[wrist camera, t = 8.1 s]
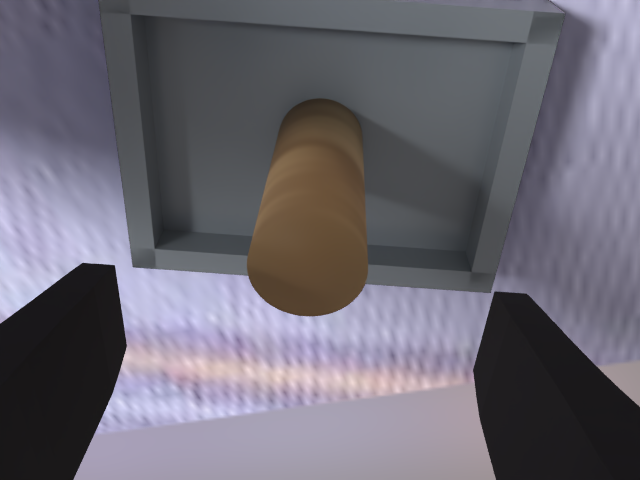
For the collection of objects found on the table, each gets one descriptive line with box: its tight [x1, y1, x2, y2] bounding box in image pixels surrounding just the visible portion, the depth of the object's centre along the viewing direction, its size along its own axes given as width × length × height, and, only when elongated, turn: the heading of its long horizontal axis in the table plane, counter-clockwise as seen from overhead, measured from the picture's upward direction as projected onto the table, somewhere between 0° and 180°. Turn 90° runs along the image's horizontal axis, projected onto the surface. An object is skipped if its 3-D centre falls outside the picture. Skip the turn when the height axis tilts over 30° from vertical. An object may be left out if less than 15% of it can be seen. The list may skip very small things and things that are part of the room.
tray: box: [98, 0, 565, 293], centre depth 19 cm, size 12×9×2 cm
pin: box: [247, 98, 368, 316], centre depth 16 cm, size 3×3×7 cm
